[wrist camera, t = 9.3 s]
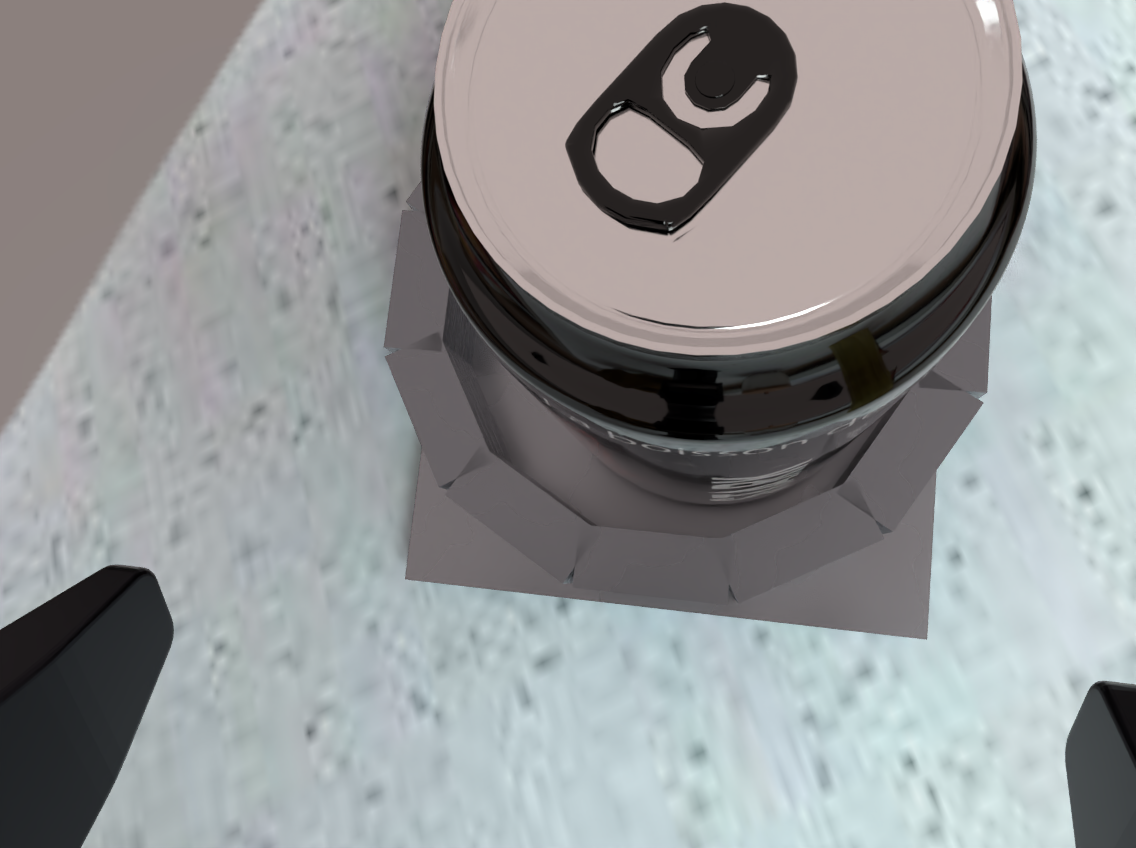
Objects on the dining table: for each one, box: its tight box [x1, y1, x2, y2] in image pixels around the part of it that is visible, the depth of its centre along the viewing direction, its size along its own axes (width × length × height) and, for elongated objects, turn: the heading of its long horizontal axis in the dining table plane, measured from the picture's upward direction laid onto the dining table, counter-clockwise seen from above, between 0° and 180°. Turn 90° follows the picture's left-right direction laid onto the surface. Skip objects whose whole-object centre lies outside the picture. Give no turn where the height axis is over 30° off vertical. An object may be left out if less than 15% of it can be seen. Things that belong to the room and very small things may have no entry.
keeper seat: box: [384, 182, 992, 639], centre depth 18 cm, size 16×12×8 cm
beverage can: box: [421, 0, 1037, 505], centre depth 15 cm, size 7×7×12 cm
